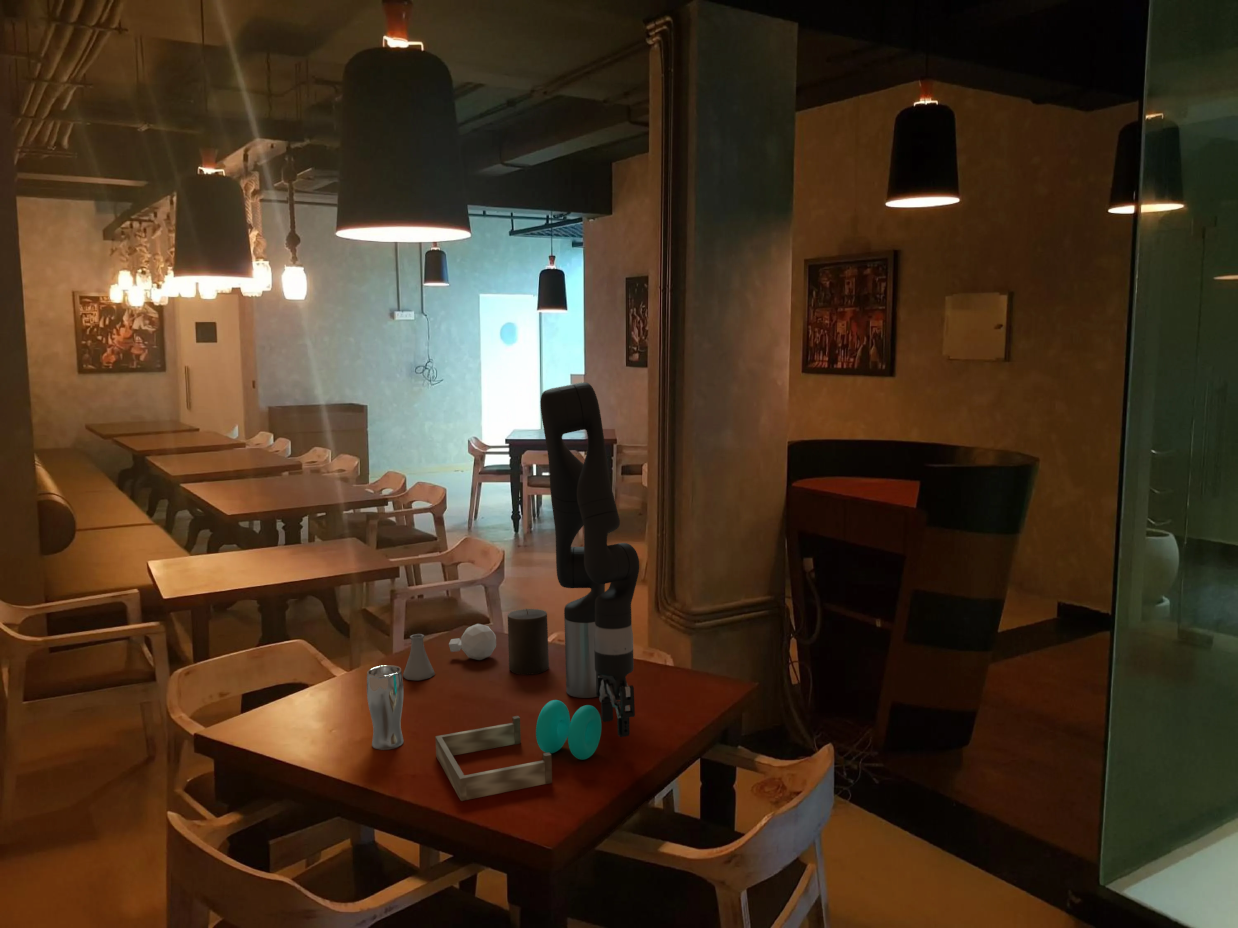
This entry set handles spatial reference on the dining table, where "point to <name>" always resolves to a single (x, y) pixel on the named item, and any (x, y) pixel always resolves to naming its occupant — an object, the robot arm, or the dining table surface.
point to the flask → (418, 661)
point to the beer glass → (385, 705)
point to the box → (492, 779)
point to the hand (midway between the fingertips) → (615, 728)
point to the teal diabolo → (568, 729)
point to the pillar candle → (528, 641)
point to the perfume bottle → (475, 642)
